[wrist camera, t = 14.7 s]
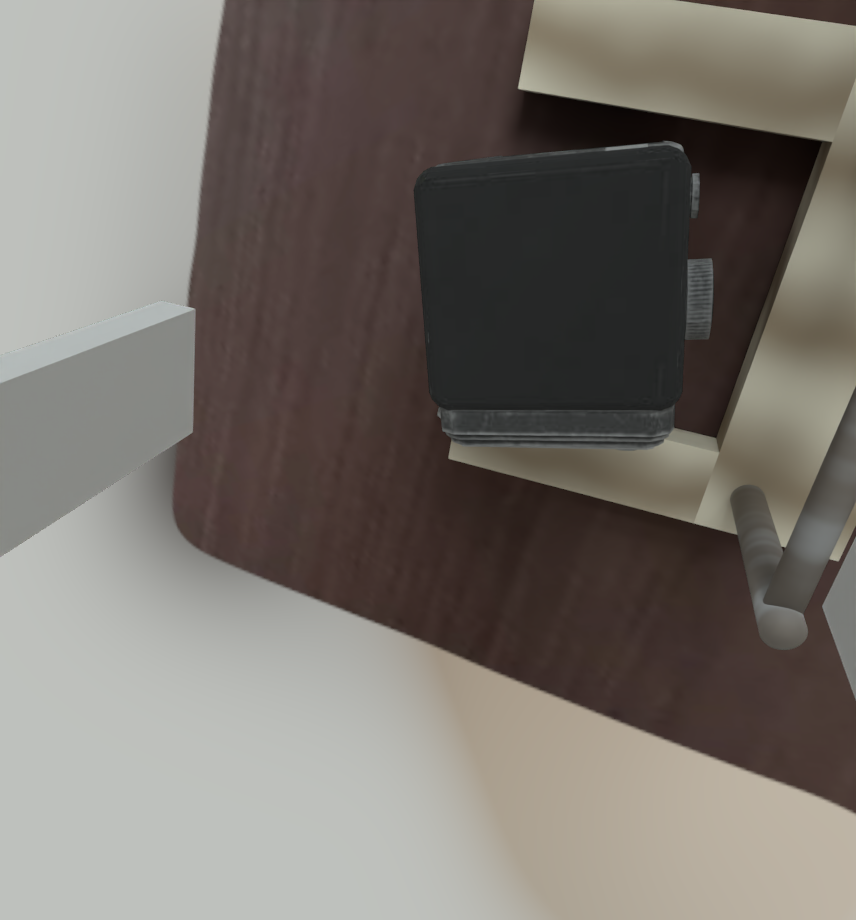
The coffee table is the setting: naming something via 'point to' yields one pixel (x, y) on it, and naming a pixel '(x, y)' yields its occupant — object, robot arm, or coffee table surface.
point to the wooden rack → (785, 309)
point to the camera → (561, 295)
